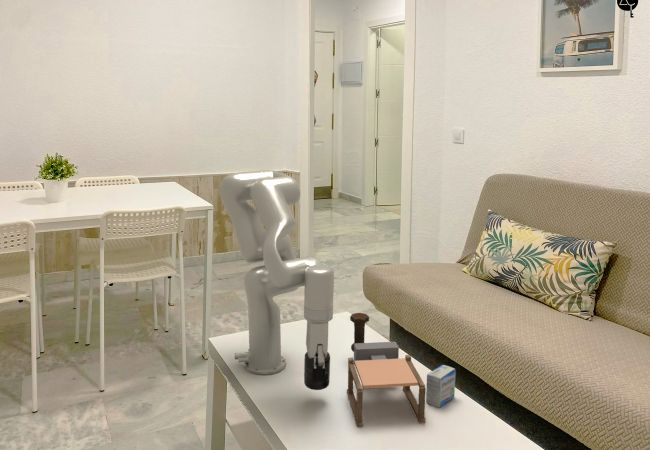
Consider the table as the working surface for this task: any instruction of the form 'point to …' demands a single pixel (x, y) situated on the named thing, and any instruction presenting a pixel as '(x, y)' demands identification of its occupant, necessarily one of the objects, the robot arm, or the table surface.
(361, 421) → the small wooden stool
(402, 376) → the trapdoor
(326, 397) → the table surface
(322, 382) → the supplement bottle
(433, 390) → the medicine box
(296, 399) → the table surface
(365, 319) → the bolt
